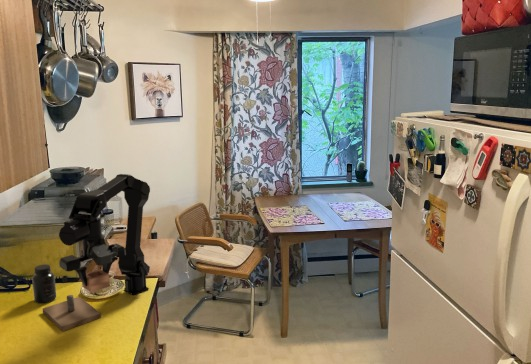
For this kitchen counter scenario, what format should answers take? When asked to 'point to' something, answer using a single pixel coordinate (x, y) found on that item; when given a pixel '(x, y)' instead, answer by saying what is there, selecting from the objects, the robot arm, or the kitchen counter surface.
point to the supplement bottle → (44, 284)
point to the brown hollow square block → (96, 280)
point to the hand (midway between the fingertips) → (95, 282)
